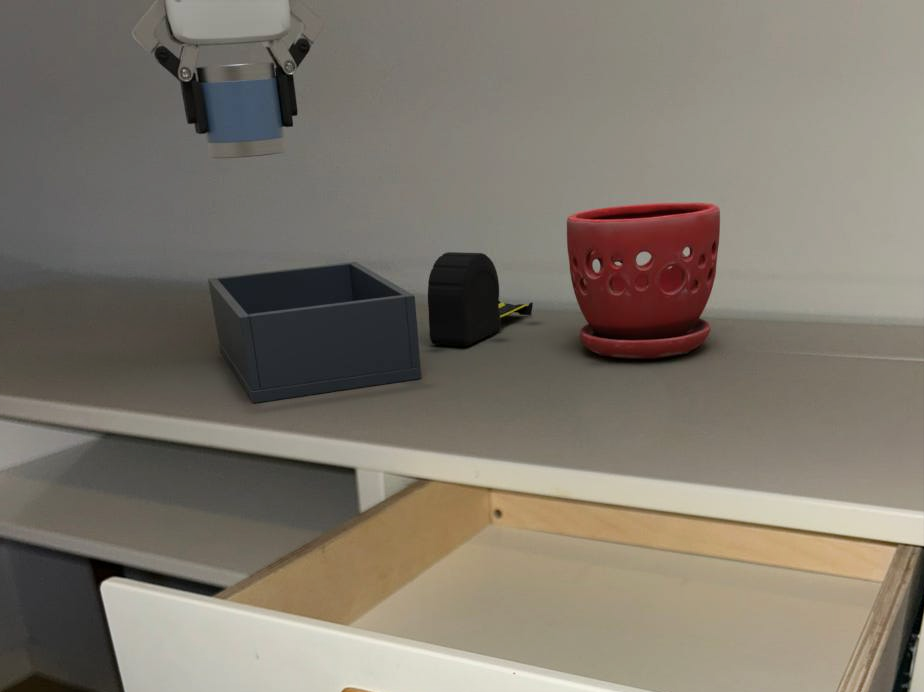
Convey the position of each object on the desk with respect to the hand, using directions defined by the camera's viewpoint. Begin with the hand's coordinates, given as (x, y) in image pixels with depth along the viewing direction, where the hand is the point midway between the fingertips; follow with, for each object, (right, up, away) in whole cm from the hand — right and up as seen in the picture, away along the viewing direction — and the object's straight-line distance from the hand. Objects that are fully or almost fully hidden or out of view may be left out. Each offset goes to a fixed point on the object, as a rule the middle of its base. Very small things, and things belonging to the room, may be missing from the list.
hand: (244, 127), depth 94 cm
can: (0, -2, +1) cm, 2 cm away
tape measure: (+21, -14, +14) cm, 29 cm away
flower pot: (+35, -18, +4) cm, 40 cm away
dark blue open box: (+5, -19, +5) cm, 21 cm away
